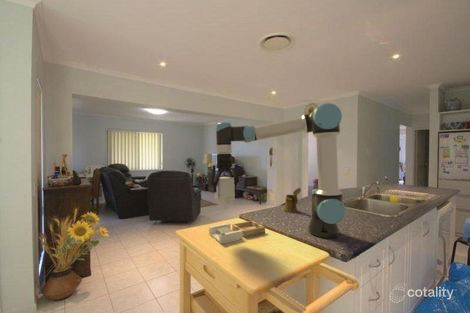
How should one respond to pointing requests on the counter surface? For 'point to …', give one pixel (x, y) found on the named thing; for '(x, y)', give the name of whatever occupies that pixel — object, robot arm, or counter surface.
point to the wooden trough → (249, 228)
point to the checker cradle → (225, 234)
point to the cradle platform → (224, 230)
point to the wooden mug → (291, 201)
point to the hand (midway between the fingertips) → (224, 197)
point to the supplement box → (225, 190)
